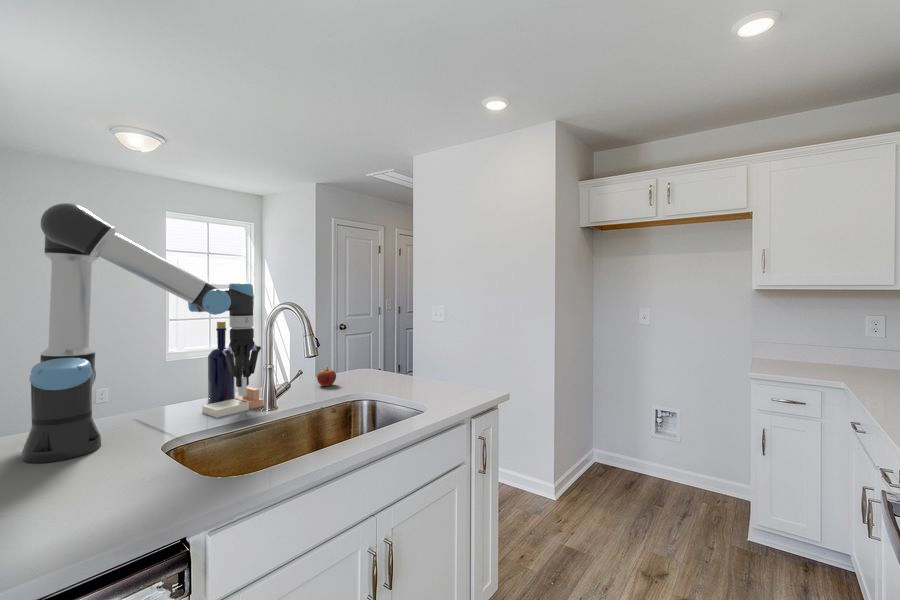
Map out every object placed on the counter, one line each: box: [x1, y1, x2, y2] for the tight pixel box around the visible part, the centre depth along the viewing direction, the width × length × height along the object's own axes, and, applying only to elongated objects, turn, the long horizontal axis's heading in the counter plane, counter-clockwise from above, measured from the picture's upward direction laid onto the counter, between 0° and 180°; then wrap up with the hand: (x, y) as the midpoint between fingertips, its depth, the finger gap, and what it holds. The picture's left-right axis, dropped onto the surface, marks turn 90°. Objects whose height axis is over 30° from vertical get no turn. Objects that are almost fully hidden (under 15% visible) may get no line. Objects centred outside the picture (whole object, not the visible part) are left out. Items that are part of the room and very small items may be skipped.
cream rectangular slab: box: [201, 397, 250, 418], centre depth 145 cm, size 11×9×2 cm
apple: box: [316, 367, 337, 387], centre depth 188 cm, size 8×8×8 cm
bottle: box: [207, 320, 236, 404], centre depth 158 cm, size 9×9×30 cm
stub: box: [235, 385, 264, 410], centre depth 152 cm, size 5×9×6 cm, turn 55°
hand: (242, 395), depth 150 cm, fingers closed
